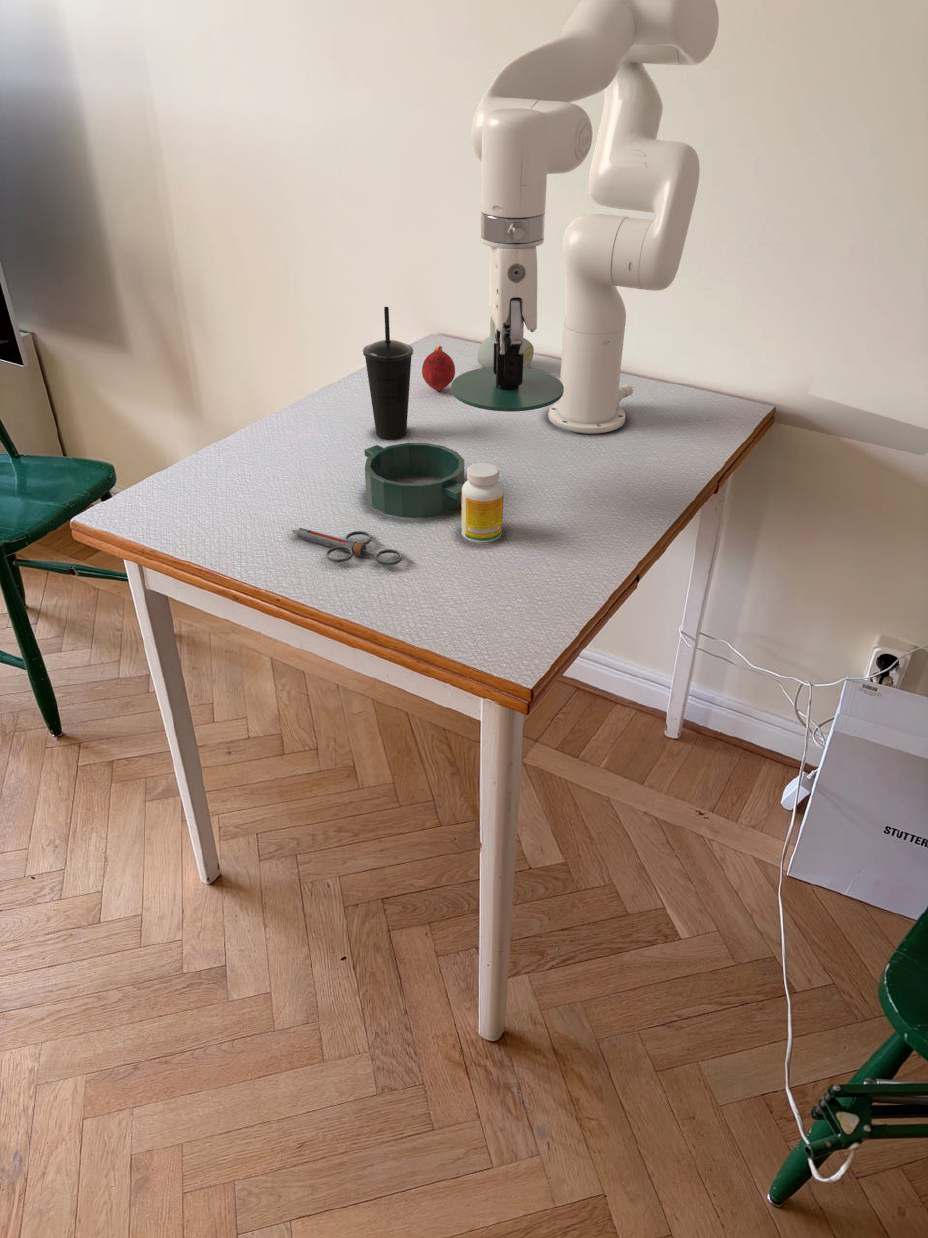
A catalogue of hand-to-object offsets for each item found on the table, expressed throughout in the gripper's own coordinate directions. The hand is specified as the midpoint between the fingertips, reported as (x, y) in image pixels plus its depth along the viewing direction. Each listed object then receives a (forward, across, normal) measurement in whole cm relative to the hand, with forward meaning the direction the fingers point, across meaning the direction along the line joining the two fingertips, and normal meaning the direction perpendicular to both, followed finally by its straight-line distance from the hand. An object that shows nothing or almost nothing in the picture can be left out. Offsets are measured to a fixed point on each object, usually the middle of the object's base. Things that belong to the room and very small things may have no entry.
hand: (507, 377), depth 121 cm
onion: (+18, +42, +6) cm, 46 cm away
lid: (+2, 0, 0) cm, 2 cm away
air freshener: (+18, +52, -7) cm, 55 cm away
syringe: (+18, -11, +23) cm, 31 cm away
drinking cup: (+18, +25, +15) cm, 34 cm away
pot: (+18, +2, +12) cm, 22 cm away
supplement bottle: (+18, -9, +4) cm, 21 cm away
